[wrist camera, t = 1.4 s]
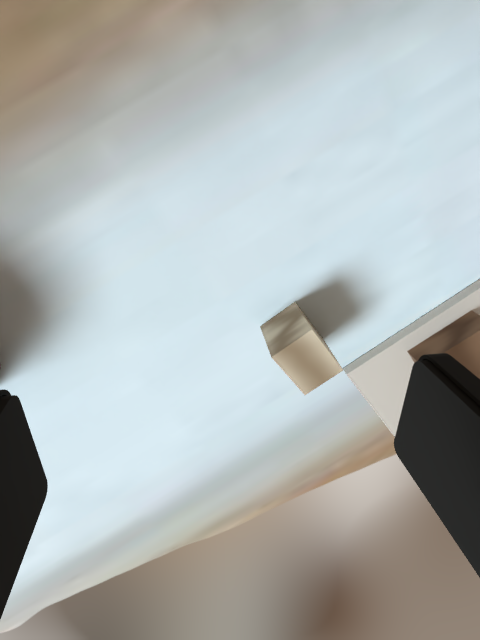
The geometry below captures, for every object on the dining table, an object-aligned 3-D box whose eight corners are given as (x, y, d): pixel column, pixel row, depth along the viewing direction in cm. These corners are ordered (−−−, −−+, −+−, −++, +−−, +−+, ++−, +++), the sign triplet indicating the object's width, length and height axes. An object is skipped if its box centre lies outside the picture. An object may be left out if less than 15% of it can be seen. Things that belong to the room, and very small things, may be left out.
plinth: (471, 310, 40) (491, 322, 38) (502, 376, 46) (521, 392, 43) (407, 351, 42) (422, 366, 39) (444, 411, 47) (459, 427, 45)
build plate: (518, 253, 39) (527, 257, 38) (551, 350, 46) (560, 355, 45) (342, 368, 43) (346, 374, 42) (398, 440, 50) (402, 447, 49)
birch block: (294, 301, 39) (311, 329, 33) (323, 338, 41) (343, 370, 36) (260, 326, 39) (271, 357, 34) (290, 361, 42) (304, 395, 37)
